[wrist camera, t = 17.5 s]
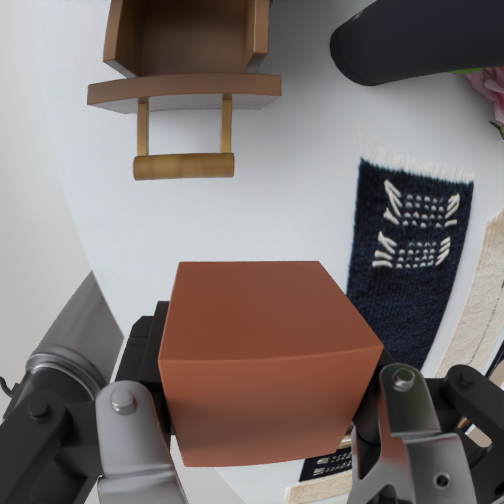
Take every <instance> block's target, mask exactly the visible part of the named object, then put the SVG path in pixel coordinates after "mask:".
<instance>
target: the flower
mask: <svg viewBox="0 0 504 504" xmlns="http://www.w3.org/2000/svg"><path fill="white" fill-rule="evenodd" d="M465 75H466V76H467V78H468V80H469V82H470V84H471V85H472V86H473V87H474V88H475V89H476V90H477V91H478V92H479V93H480V94H481V95H482V96H484V97H485V98H487V99H489V100H492V101H494V103H493V110H494V116H495V119H496V121H498V122H499V123H501V124H502V127H500V126H498V125H496V124H495V123H493V122H490V123H491V124H492V125H494V126H495V127H496V128H497V129H498V130H499V132H500V134H501V136H502V139H503V140H504V66H500V67H485V68H484V69H482V70H480V71H477V72H472V73H466V74H465ZM483 80H484V81H483Z"/></svg>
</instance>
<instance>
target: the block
mask: <svg viewBox="0 0 504 504" xmlns="http://www.w3.org/2000/svg"><path fill="white" fill-rule="evenodd" d="M382 350H383V344H382V343H381V341H380V340H379V339H378V337H377V336H376V335H375V333H374V332H373V331H372V329H371V328H370V327H369V325H368V324H367V323H366V321H365V320H364V319H363V317H362V316H361V315H360V313H359V312H358V311H357V309H356V308H355V307H354V306H353V304H352V303H351V302H350V300H349V299H348V298H347V297H346V295H345V294H344V293H343V291H342V290H341V289H340V288H339V286H338V285H337V284H336V282H335V281H334V280H333V279H332V277H331V276H330V275H329V274H328V272H327V271H326V270H325V269H324V267H323V266H322V265H321V264H320V262H319V261H259V262H179V265H178V269H177V273H176V277H175V281H174V286H173V290H172V294H171V299H170V303H169V308H168V312H167V317H166V322H165V326H164V331H163V336H162V341H161V346H160V351H159V356H158V365H159V370H160V375H161V379H162V384H163V389H164V393H165V397H166V401H167V405H168V410H169V414H170V417H171V421H172V425H173V429H174V432H175V436H176V439H177V443H178V446H179V450H180V453H181V456H182V459H183V463H184V465H185V466H186V467H228V466H246V465H259V464H269V463H278V462H285V461H292V460H299V459H305V458H311V457H316V456H321V455H326V454H331V453H335V452H336V450H337V448H338V446H339V444H340V443H341V441H342V439H343V437H344V435H345V433H346V431H347V429H348V427H349V425H350V423H351V421H352V419H353V417H354V415H355V413H356V411H357V409H358V407H359V405H360V403H361V400H362V398H363V396H364V394H365V391H366V389H367V387H368V385H369V382H370V380H371V378H372V375H373V373H374V370H375V368H376V365H377V363H378V360H379V358H380V355H381V352H382Z"/></svg>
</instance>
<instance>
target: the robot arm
mask: <svg viewBox="0 0 504 504" xmlns="http://www.w3.org/2000/svg"><path fill="white" fill-rule="evenodd" d="M169 303H170V301H158V303H157V306H156V310H155V313H154V316H142V317H141V318H140V319H139V320H138V321H137V322H136V323H135V324H134V325H133V327H132V330H131V333H130V335H129V338H128V341H127V344H126V348H125V350H124V354H123V356H122V359H121V363H120V366H119V369H118V372H117V375H116V379H115V382H114V383H111V384H109V385H107V386H106V387H104V388H103V389H102V390H101V391H100V392H99V394H98V395H97V398H96V400H95V397H94V394H93V392H92V390H91V389H90V387H89V386H88V385H87V384H86V383H85V382H84V381H83V380H82V379H81V378H80V377H79V376H77V375H76V374H75V373H73V372H71V371H70V370H68V369H66V368H64V367H62V366H60V365H57V364H53V363H39V364H37V365H36V366H35V367H34V368H28V370H27V372H26V374H25V376H24V377H23V379H22V381H21V383H20V384H18V383H15V385H14V387H13V389H12V391H11V390H10V389H9V388H8V387H7V385H6V382H5V380H4V378H2V377H0V384H1V387H2V389H3V391H4V392H5V393H6V394H7V395H8V396H9V397H11V398H12V400H11V402H10V404H9V406H8V408H7V410H6V412H5V414H4V416H3V423H2V424H1V426H0V504H84V502H85V501H86V499H87V497H88V495H89V493H90V492H91V489H92V488H93V486H94V484H95V483H96V481H97V479H98V477H99V475H103V476H102V477H99V479H98V481H97V489H98V496H99V501H100V504H189V502H188V500H187V497H186V495H185V493H184V490H183V487H182V485H181V482H180V480H179V477H178V474H177V471H176V469H175V466H174V463H173V460H172V457H171V454H170V441H171V435H175V432H174V429H173V425H172V421H171V417H170V414H169V410H168V405H167V401H166V397H165V393H164V389H163V384H162V379H161V375H160V370H159V365H158V356H159V351H160V346H161V341H162V336H163V331H164V326H165V322H166V317H167V312H168V308H169ZM363 319H364V318H363ZM366 323H367V322H366ZM369 327H370V326H369ZM372 331H373V330H372ZM375 335H376V334H375ZM378 339H379V338H378ZM381 343H382V342H381ZM465 417H466V418H467V419H468V420H469V421H470V422H472V423H473V424H474V425H475V426H476V427H477V428H479V429H480V430H481V431H482V432H483V433H484V434H486V435H487V436H488V437H489V438H490V439H491V441H492V443H491V444H490V445H489V446H488V447H484V448H483V447H480V446H478V445H477V444H476V443H475V442H474V441H473V440H471V439H470V438H469V437H468V436H467V435H466V434H465V433H463V432H462V431H461V430H460V429H459V428H458V425H459V424H460V423H461V422H462V420H463V419H464V418H465ZM352 421H353V423H354V425H355V426H354V428H353V430H352V433H351V446H352V488H351V492H350V494H349V497H348V500H347V504H504V391H503V390H502V389H501V388H499V387H498V386H497V385H495V384H494V383H493V382H491V381H490V380H489V379H488V378H486V377H485V376H484V375H482V374H481V373H480V372H478V371H477V370H475V369H474V368H472V367H470V366H467V365H462V364H458V365H454V366H452V367H451V368H450V369H449V371H448V373H447V375H446V376H445V378H424V376H423V375H422V374H421V373H420V372H419V371H418V370H417V369H416V368H414V367H412V366H410V365H407V364H404V363H396V362H395V360H394V359H393V357H392V356H391V355H390V353H389V352H388V351H387V349H386V348H385V346H384V345H383V350H382V352H381V355H380V358H379V360H378V363H377V365H376V368H375V370H374V373H373V375H372V378H371V380H370V382H369V385H368V387H367V389H366V391H365V394H364V396H363V398H362V400H361V403H360V405H359V407H358V409H357V411H356V413H355V415H354V417H353V419H352Z"/></svg>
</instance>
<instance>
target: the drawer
mask: <svg viewBox="0 0 504 504" xmlns="http://www.w3.org/2000/svg"><path fill="white" fill-rule="evenodd" d="M268 48H269V0H111V5H110V11H109V16H108V22H107V29H106V36H105V44H104V52H103V62H104V63H106V64H107V65H109V66H110V67H112V68H113V69H115V70H116V71H118V72H119V73H121V74H122V75H124V76H125V77H127V79H119V80H113V81H107V82H101V83H95V84H90V85H88V95H87V105H90V106H95V107H99V108H103V109H107V110H111V111H115V112H119V113H123V114H129V113H137V156H136V157H135V158H134V161H133V175H134V178H135V180H137V181H138V180H155V179H178V178H223V177H233V176H234V154H233V153H231V118H232V109H256V110H259V109H261V108H262V107H264V106H265V105H267V104H269V103H270V102H272V101H273V100H275V99H277V98H278V97H280V96H281V83H282V77H281V76H278V75H266V74H254V73H255V72H256V70H257V69H258V67H259V66H260V64H261V63H262V61H263V60H264V58H265V57H266V56H267V54H268ZM181 109H221V138H220V153H189V154H165V155H149V111H163V110H181ZM147 155H148V156H147Z"/></svg>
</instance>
